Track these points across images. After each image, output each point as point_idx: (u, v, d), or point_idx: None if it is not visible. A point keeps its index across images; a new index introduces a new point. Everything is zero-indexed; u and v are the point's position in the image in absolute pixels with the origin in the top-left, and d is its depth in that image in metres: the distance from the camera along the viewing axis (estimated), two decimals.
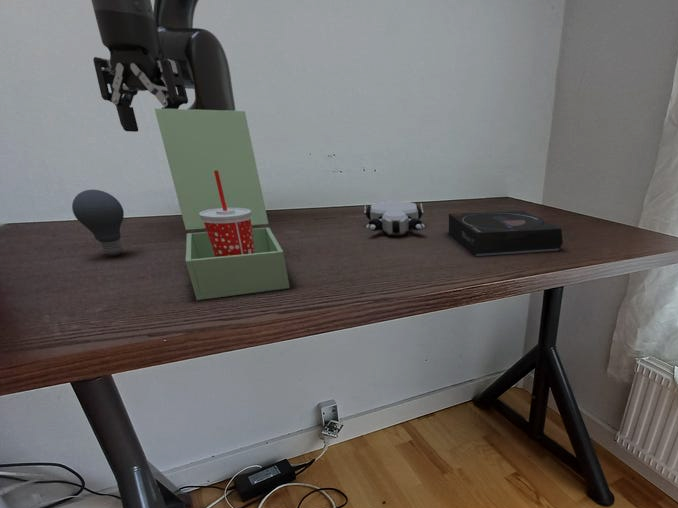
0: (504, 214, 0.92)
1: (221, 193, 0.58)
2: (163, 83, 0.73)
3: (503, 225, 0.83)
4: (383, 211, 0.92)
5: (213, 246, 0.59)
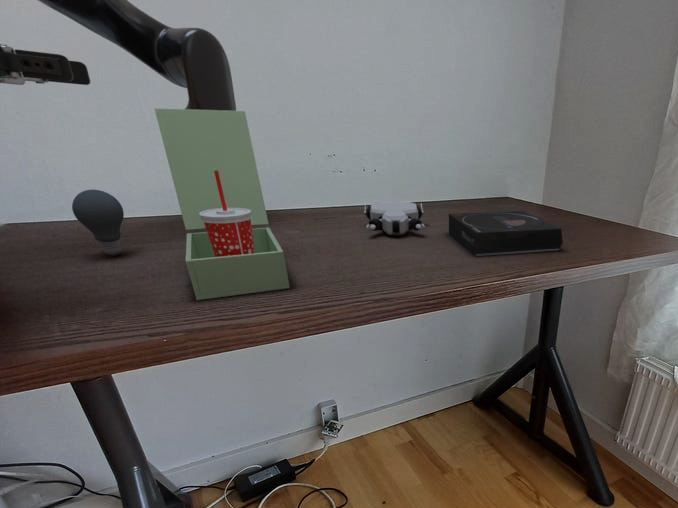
0: (504, 214, 0.92)
1: (221, 193, 0.58)
2: None
3: (503, 225, 0.83)
4: (383, 211, 0.92)
5: (213, 246, 0.59)
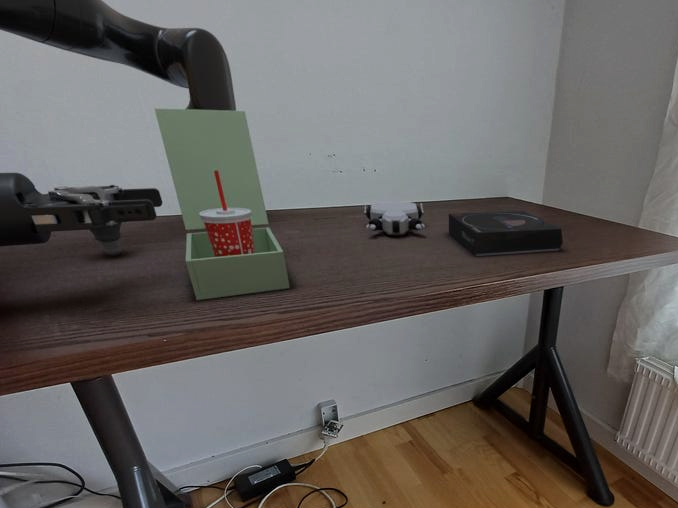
0: (504, 214, 0.92)
1: (221, 193, 0.58)
2: None
3: (503, 225, 0.83)
4: (383, 211, 0.92)
5: (213, 246, 0.59)
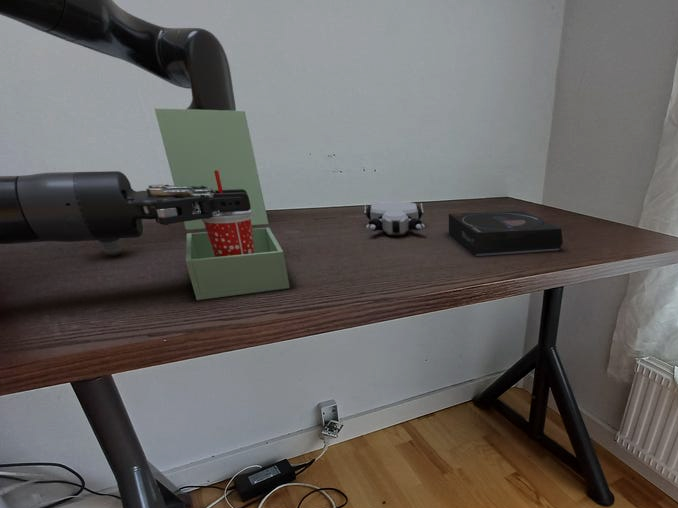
0: (504, 214, 0.92)
1: None
2: (177, 195, 0.54)
3: (503, 225, 0.83)
4: (383, 211, 0.92)
5: (213, 246, 0.59)
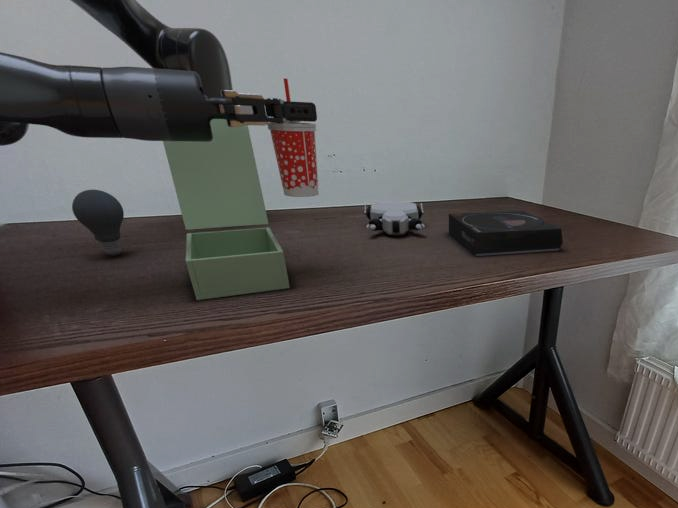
0: (504, 214, 0.92)
1: None
2: (250, 98, 0.55)
3: (503, 225, 0.83)
4: (383, 211, 0.92)
5: (279, 157, 0.60)
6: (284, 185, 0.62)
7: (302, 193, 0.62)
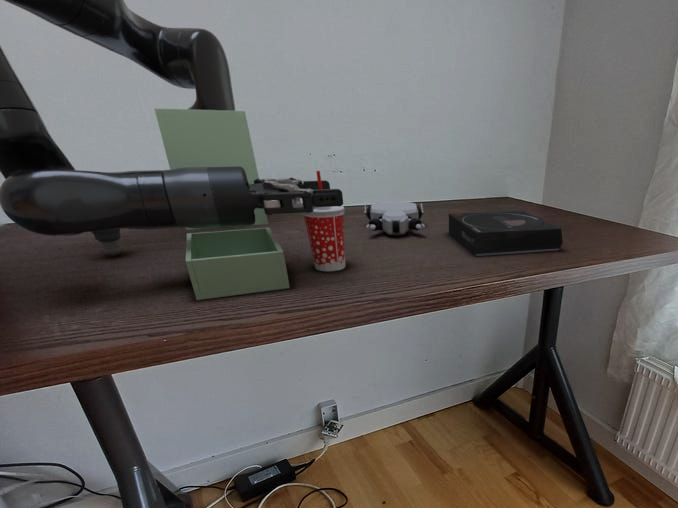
0: (504, 214, 0.92)
1: None
2: (284, 188, 0.61)
3: (503, 225, 0.83)
4: (383, 211, 0.92)
5: (311, 238, 0.67)
6: (315, 261, 0.69)
7: (332, 268, 0.69)
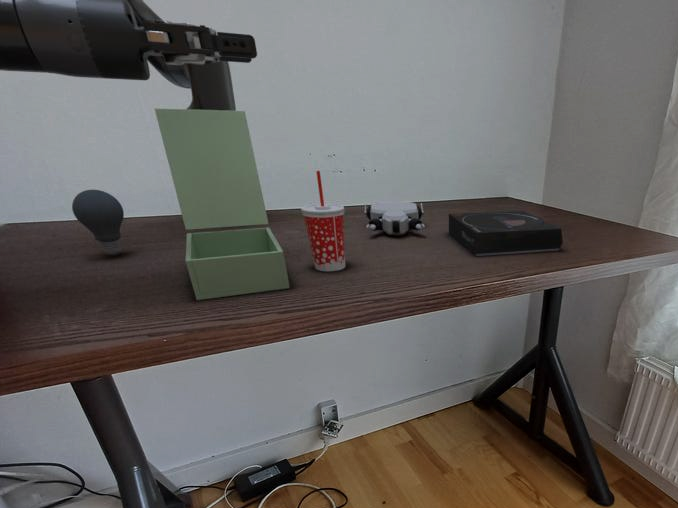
0: (504, 214, 0.92)
1: (321, 191, 0.66)
2: None
3: (503, 225, 0.83)
4: (383, 211, 0.92)
5: (311, 238, 0.67)
6: (315, 261, 0.69)
7: (332, 268, 0.69)
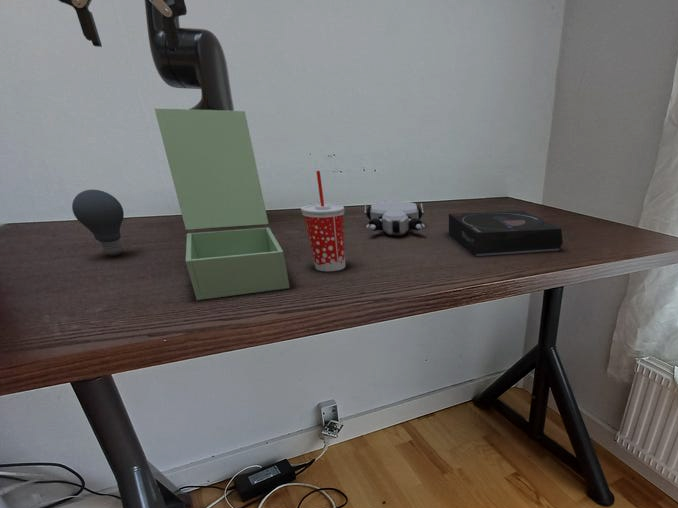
0: (504, 214, 0.92)
1: (321, 191, 0.66)
2: None
3: (503, 225, 0.83)
4: (383, 211, 0.92)
5: (311, 238, 0.67)
6: (315, 261, 0.69)
7: (332, 268, 0.69)
